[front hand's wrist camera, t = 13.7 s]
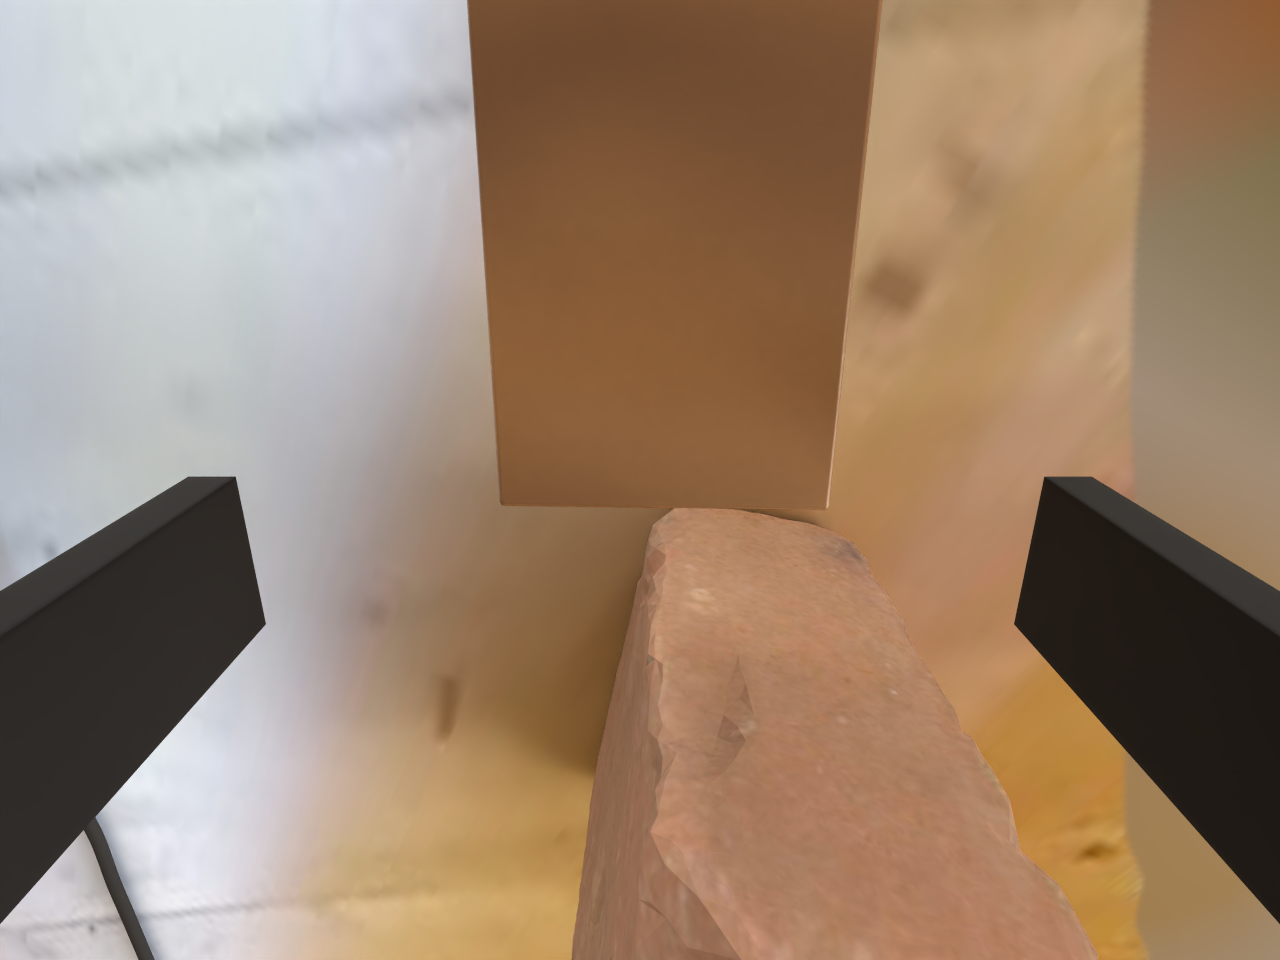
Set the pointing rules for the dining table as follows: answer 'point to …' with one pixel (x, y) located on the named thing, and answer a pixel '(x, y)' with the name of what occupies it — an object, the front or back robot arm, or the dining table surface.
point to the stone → (794, 773)
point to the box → (669, 244)
